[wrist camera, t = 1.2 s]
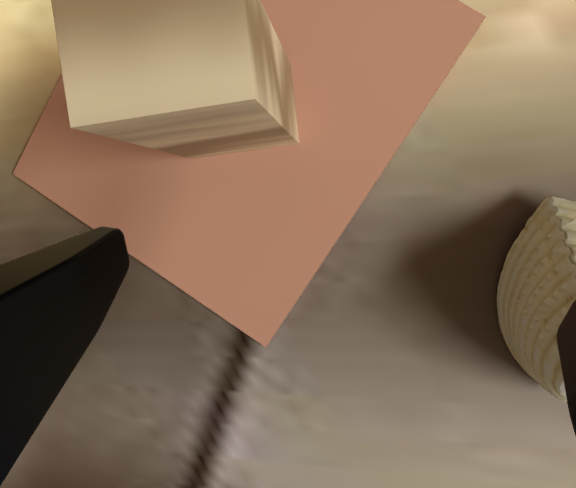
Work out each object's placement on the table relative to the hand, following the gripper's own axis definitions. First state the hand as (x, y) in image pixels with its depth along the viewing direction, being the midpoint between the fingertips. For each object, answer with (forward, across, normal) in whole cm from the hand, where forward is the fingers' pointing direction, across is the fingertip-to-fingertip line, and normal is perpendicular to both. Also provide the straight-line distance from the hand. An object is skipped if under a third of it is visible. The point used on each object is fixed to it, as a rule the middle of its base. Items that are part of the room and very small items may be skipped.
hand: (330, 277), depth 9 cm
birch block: (+15, +6, +2) cm, 16 cm away
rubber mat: (+15, +7, +2) cm, 17 cm away
